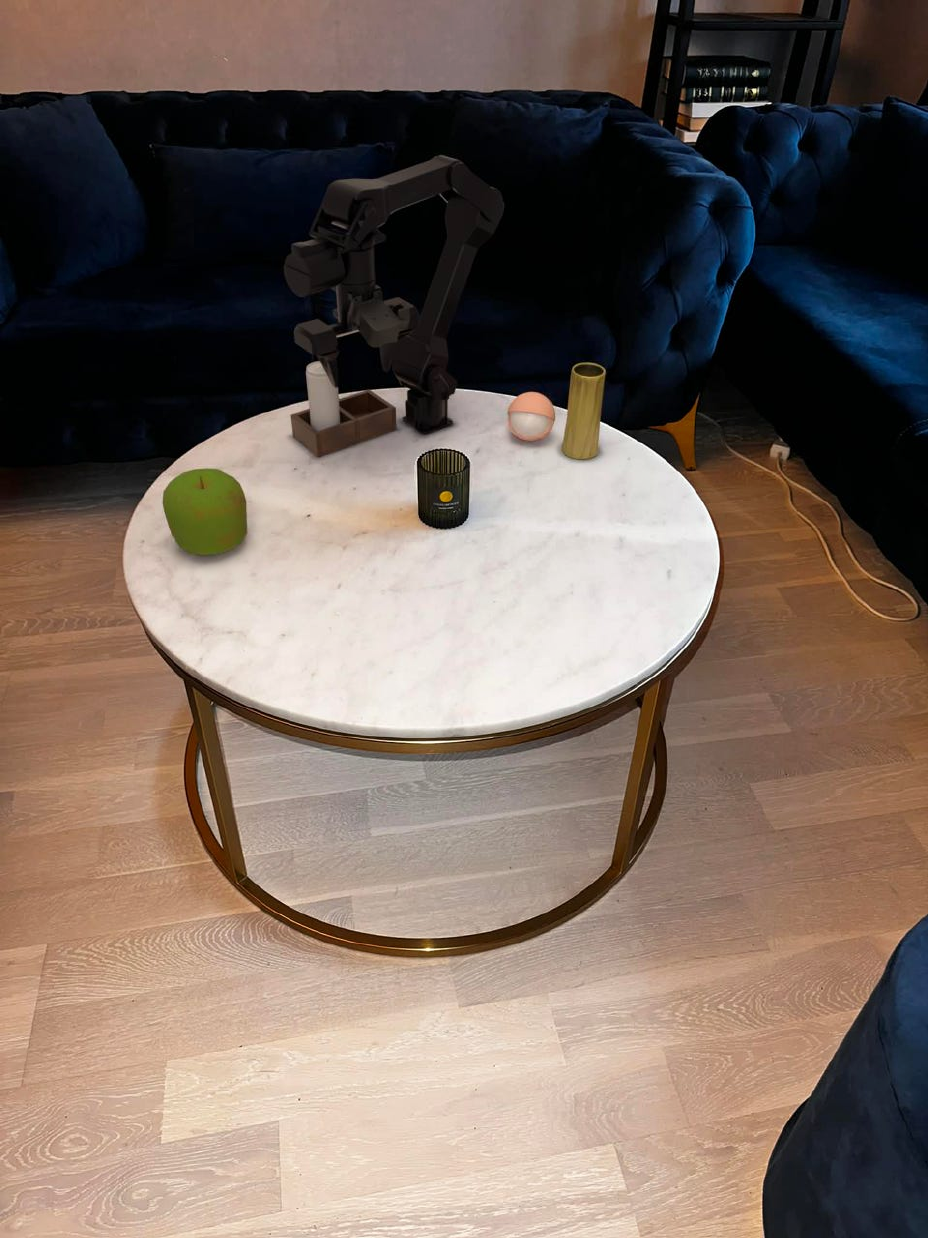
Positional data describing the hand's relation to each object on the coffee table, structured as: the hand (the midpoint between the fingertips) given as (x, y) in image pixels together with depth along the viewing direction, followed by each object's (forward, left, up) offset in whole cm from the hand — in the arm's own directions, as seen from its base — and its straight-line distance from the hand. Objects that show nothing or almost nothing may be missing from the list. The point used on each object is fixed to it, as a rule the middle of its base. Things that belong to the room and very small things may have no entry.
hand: (361, 378), depth 145 cm
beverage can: (+3, -7, -12) cm, 15 cm away
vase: (-29, +20, -13) cm, 38 cm away
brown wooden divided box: (-1, -7, -13) cm, 15 cm away
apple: (+31, +8, -13) cm, 35 cm away
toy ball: (-25, +12, -13) cm, 31 cm away
